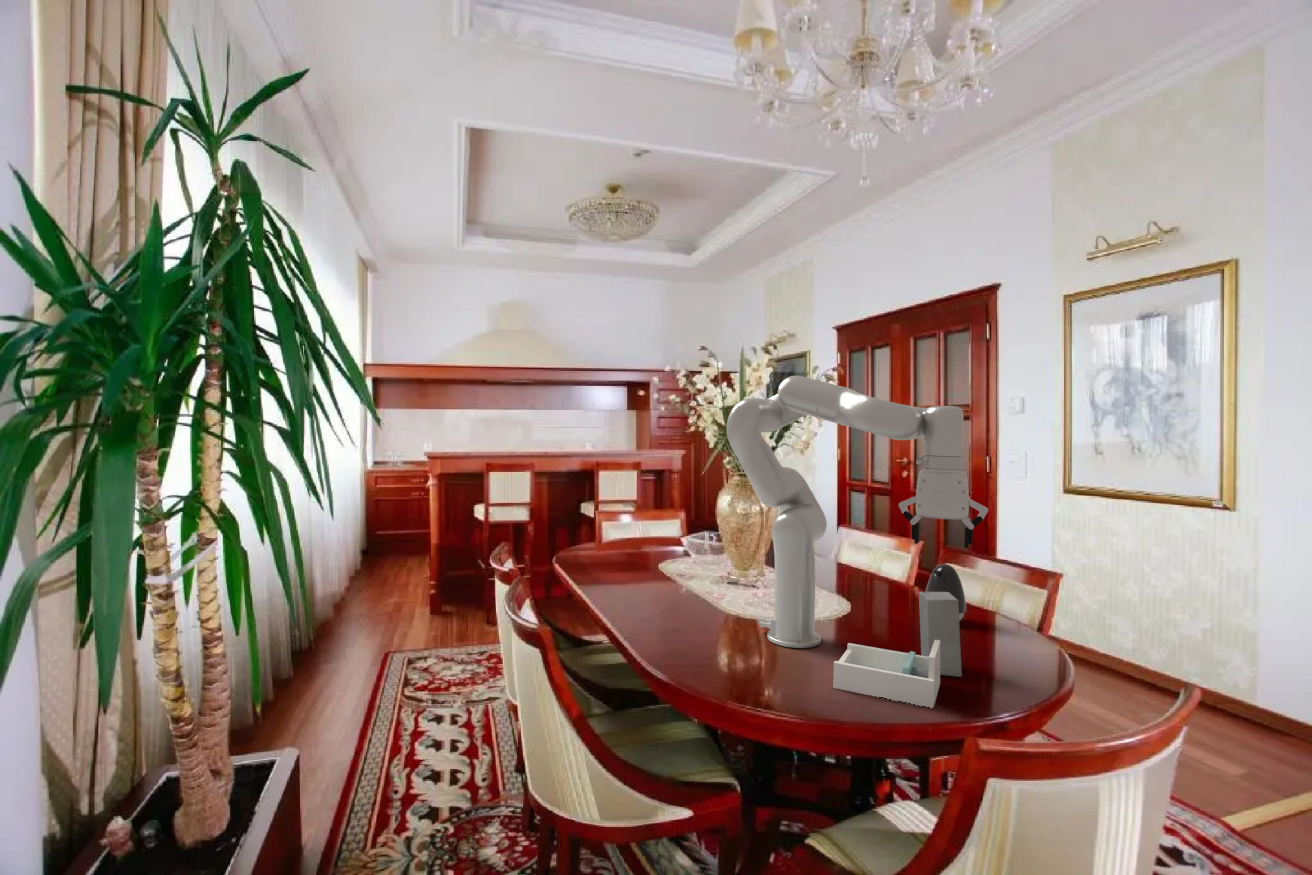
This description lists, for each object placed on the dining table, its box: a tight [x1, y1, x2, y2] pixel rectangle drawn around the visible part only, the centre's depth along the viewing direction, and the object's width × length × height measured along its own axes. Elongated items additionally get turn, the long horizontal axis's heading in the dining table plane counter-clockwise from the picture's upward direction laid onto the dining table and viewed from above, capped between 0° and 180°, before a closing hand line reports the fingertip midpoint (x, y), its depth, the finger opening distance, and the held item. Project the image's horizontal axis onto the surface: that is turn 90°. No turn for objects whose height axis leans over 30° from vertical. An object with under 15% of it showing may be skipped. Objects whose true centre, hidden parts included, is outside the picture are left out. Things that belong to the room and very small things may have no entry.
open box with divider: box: [832, 640, 941, 709], centre depth 125 cm, size 18×13×9 cm
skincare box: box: [918, 591, 963, 678], centre depth 134 cm, size 8×7×16 cm
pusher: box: [903, 650, 929, 678], centre depth 122 cm, size 4×10×5 cm, turn 151°
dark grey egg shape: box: [925, 563, 967, 622], centre depth 167 cm, size 10×10×15 cm
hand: (941, 544), depth 134 cm, fingers open, 9 cm apart
